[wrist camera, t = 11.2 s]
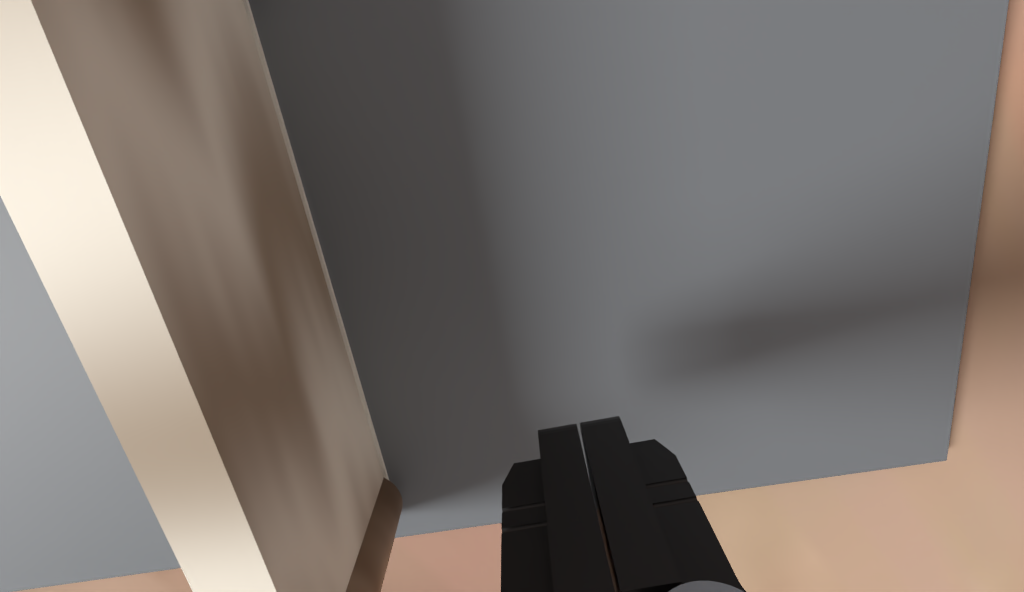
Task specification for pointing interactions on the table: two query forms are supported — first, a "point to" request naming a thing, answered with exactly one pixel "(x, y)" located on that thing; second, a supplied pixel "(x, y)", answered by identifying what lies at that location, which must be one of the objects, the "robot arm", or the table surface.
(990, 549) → the table surface
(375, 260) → the card
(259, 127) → the swinging fence section
